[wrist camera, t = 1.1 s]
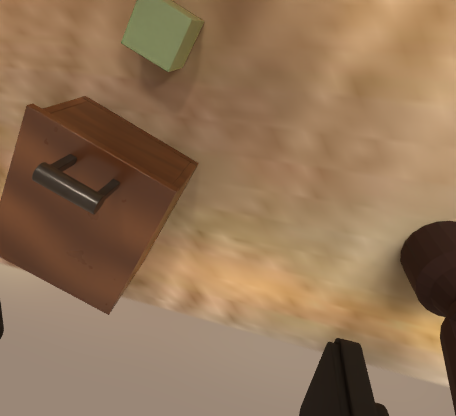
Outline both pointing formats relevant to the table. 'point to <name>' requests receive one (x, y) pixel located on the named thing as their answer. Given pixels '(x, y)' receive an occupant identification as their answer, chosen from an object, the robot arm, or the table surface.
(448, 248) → the lantern
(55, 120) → the lid
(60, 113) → the chest
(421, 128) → the table surface
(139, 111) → the table surface
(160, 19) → the block
